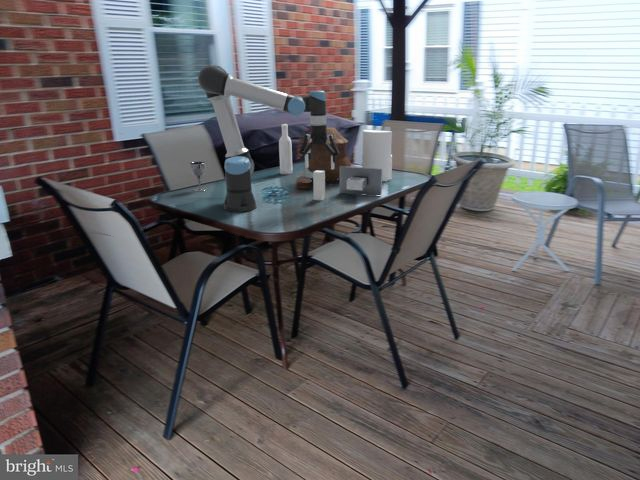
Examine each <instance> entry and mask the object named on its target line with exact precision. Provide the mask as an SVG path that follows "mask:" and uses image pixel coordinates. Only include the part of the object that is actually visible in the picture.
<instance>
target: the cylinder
mask: <svg viewBox="0 0 640 480" xmlns="http://www.w3.org/2000/svg"><path fill="white" fill-rule="evenodd" d="M392 143H393V131H391V130H378V129H377V130H375V129H374V130H373V129H363V130H362V158H361V159H362V160H361V161H362V162H361V163H362V165H361V167H365V168H382V181H384V180H389V179H391V180H392V175H393V174H392V173H393V155H392Z"/></svg>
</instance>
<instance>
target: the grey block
mask: <svg viewBox="0 0 640 480" xmlns="http://www.w3.org/2000/svg"><path fill="white" fill-rule="evenodd" d="M382 184H383V182H382V168H365V167H362V166H350V167H348V166H340V177H339V194H342V193H348V194H347V195H355V194H366V195H365V196H368V195H381V194H382V193H383V192H382V191H383V190H382V188H383V185H382ZM381 196H382V195H381Z"/></svg>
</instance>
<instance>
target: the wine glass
mask: <svg viewBox="0 0 640 480" xmlns="http://www.w3.org/2000/svg"><path fill="white" fill-rule="evenodd" d="M189 167H190V172H191V173H192V175H193V176H194V177H195V178H196V179H197V182H198V188H195V189H193V190H194V191H193V192H195V191H199V193H201V192H205V191H207V188H204V187H203V188H202V187H201V179H202V177H203V176H204V174H205V173H206V162H205V161H201V160H200V161H191V162H189Z"/></svg>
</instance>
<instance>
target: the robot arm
mask: <svg viewBox="0 0 640 480" xmlns="http://www.w3.org/2000/svg"><path fill="white" fill-rule="evenodd" d="M197 81H198V85H199V86H200V88H201V89H202V90H203V91H204V93H205V96H206V98H207V100H208V101H209V102H211V103H212V107H213V110H214V112H215V116H216V119H217V122H218V123H217V124H218V126H219V129H220V132H221V133H220V134H221V136H222V139H223V143H224V146H225V149H226V154H225V156H224V157H225V161H224V167H223V168H224V175H225V189H226V194H225V199H224V203H223V209H224V211H226V212H231V213H244V212H249V211H252V210H255V209H256V208H257V202H256V199H255V196H254V193H253V191H252V190H253V189H252V175H253V174H254V171H255V163H254V160H253V159H252V157H251V154H250V150H249V149H248V148H247V147H246V146H245V144H244V141H243V138H242V135H241V131H240V127H239V124H238V121H237V117H236V114H235V111H234V108H233V107H234V106H233V104H232V99H231V96H233V97H235V98H238V99H241V100H244V101H249V102H251V103H254V104H259V105H262V106H266V107H269V108H272V109H274V110H278V111H282V112H285V113H288V114H290V115H292V116H300V115H302V114H303V113H309V115H310V116H309V117H310V124H311V125H310V134H309V133H306V134H305V135H304V139H303V143H302V144H301V147H300V149H299V151H298V153H299V154H302V159H303V162H304V167H305V169H307V168H308V167H309V154H308V152H310V151H311V147H312V146H313V145H314V144H323V145H325V147H326V148H327V149H328V150H329V152H330V153H331V154H332V156H331V170H333V169H334V163H335V162H336V155H338V154H340V152H339V150H338V148H337V145H336V143H335V141H334V139H333V135H327V129H326V128H327V100H326V99H327V97H326V92H325V90H310V91H309V95H308V94H307V95H291V94H288V93H284V92H281V91H279V90H275V89H271V88H268V87H265V86H262V85H259V84H256V83H252V82H250V81H249V82H248V81H246V80H244V79H243V80H242V79H239V78H235V77H233V75H231V74H230V73H228V72H227V71H226V70H225V68H224V67H221V66H220V65H216V64H215V65H207V66H204V67H202V68H201V69H200V71H199V72H198V75H197ZM327 138H328V139H329V140H330V143H331V145H332V147H333V149H334V150H333V149H332V147H331V146H330V145H329V144H328V142H327V141H326V139H327ZM310 139H312V141H311V143H309V144H308V141H309V140H310ZM307 144H308V146H307ZM306 146H307V147H306Z"/></svg>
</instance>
